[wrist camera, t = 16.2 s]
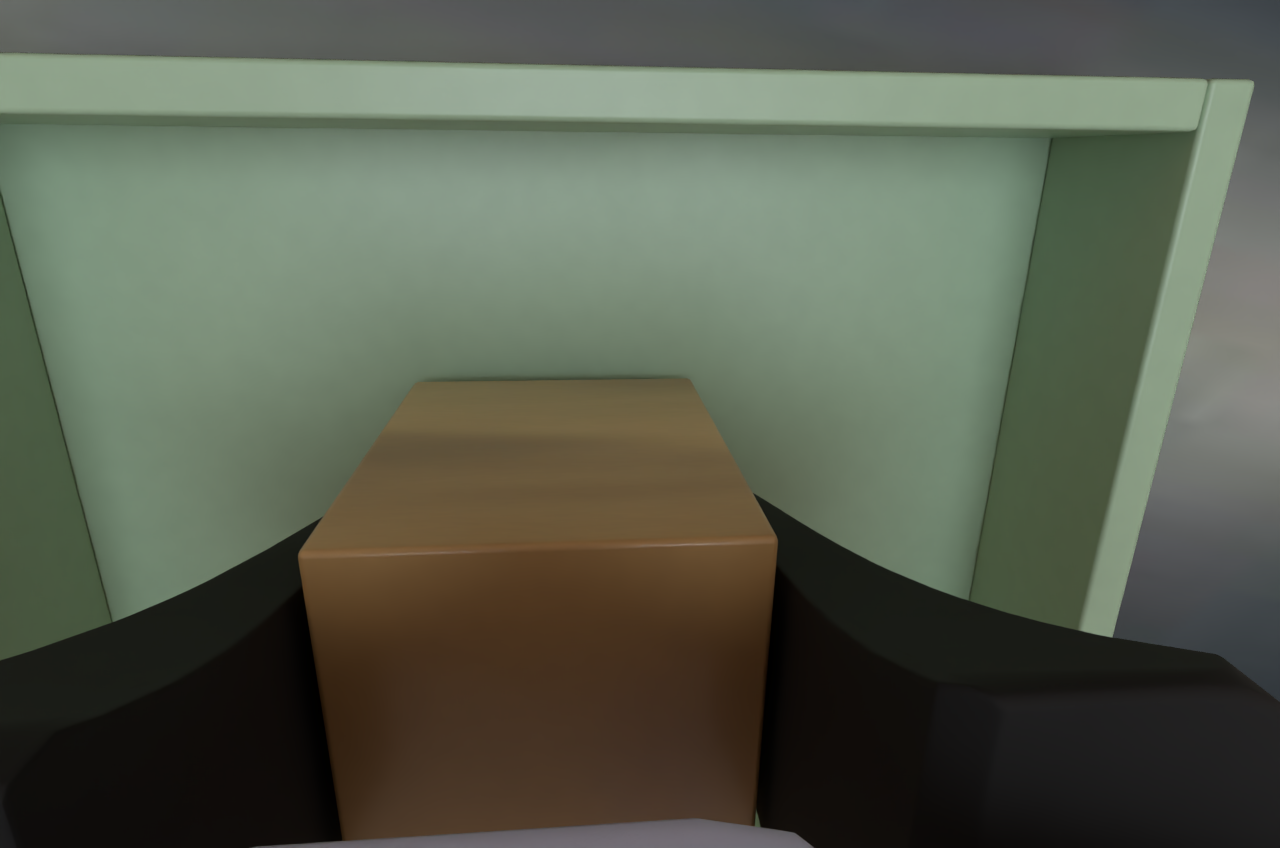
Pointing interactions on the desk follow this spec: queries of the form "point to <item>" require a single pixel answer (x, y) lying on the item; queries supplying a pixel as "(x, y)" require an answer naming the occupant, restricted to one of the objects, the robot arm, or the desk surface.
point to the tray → (594, 298)
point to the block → (542, 613)
